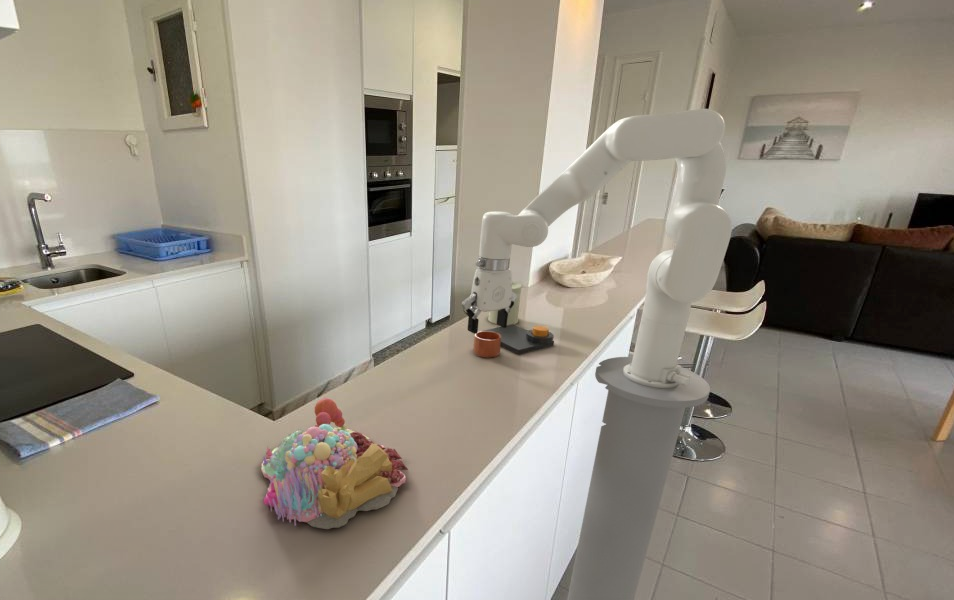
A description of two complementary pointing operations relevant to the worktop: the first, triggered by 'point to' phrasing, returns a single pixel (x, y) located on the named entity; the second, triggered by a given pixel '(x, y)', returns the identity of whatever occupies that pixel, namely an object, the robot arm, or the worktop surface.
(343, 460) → the dessert platter
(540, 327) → the button
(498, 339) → the bowl
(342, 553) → the worktop surface
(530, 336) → the scale
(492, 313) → the can
